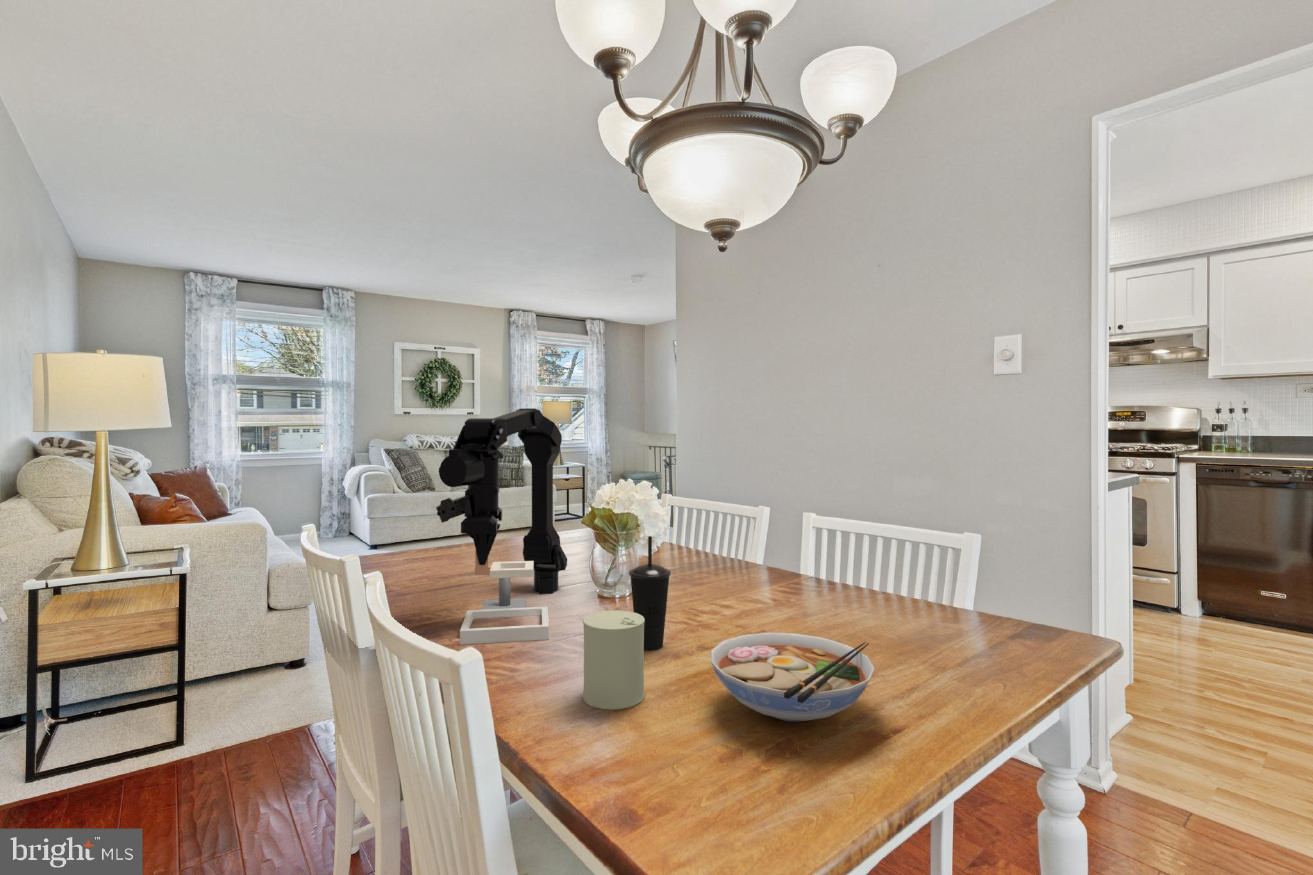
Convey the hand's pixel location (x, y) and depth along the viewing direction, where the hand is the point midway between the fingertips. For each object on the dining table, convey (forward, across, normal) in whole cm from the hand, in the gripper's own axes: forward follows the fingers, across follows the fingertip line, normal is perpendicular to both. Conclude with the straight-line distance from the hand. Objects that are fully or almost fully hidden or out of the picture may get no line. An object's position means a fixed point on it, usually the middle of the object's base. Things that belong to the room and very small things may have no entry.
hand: (482, 563), depth 122 cm
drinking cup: (+13, +13, +31) cm, 36 cm away
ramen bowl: (+14, +42, +46) cm, 64 cm away
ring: (+2, 0, +4) cm, 5 cm away
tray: (+13, 0, +5) cm, 14 cm away
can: (+14, +33, +22) cm, 42 cm away
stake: (+13, -14, +3) cm, 19 cm away
